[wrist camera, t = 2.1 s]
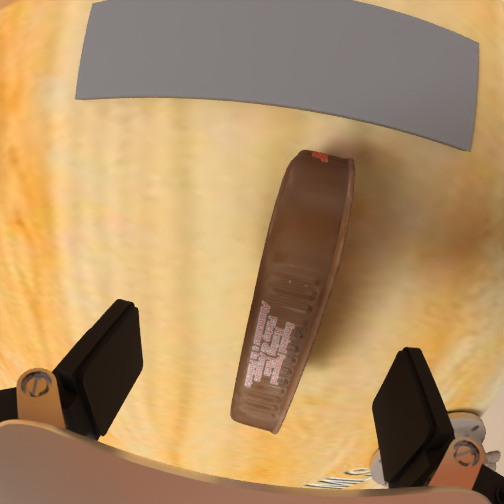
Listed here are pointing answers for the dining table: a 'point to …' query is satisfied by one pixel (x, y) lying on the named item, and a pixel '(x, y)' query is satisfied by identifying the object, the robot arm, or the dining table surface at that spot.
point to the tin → (292, 285)
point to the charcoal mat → (287, 60)
